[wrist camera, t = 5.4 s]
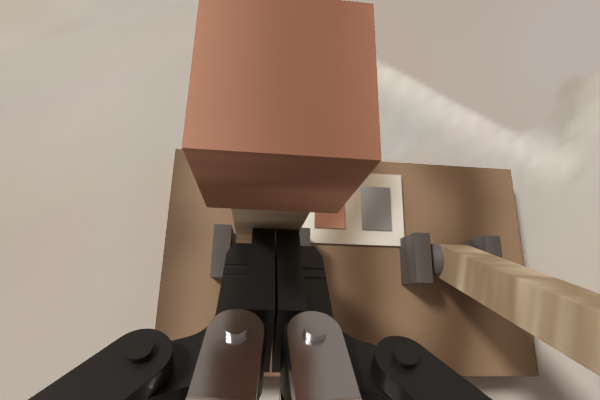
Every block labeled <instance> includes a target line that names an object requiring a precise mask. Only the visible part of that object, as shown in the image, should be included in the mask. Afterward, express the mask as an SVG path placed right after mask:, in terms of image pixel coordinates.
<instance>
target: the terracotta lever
mask: <svg viewBox="0 0 600 400" xmlns="http://www.w3.org/2000/svg"><path fill="white" fill-rule="evenodd" d="M374 28H375V27H374V8H373V4H370V3H360V2H351V1H342V0H199V5H198V14H197V22H196V31H195V39H194V48H193V56H192V65H191V74H190V82H189V91H188V99H187V108H186V117H185V125H184V134H183V142H182V149H183V152H184V154H185V156H186V159H187V161H188V164H189V166H190V168H191V171H192V173H193V175H194V178H195V180H196V183H197V185H198V187H199V190H200V192H201V194H202V197H203V199H204V202H205V204H206V206H207V207H208V208H230V209H231V210H232V215H233V220H234V225H235V230H236V235H237V238H236V243H251V241H252V230H253V228H261V229H275V239H276V230H277V229H284V230H299V231H300V229H301V228H302V226H303V224H304V222H305V220H306V219H307V217H308V215H309V213H310V212H316V213H338V212H339V211H340V210H341V209H342V207H343V206H344V205H345V204H346V202H347V201H348V200H349V199H350V198H351V196H352V195H353V194H354V193H355V192H356V190H357V189H358V188H359V187H360V185H361V184H362V183H363V182H364V181H365V179H366V178H367V177H368V176H369V175H370V173H371V172H372V171H373V170H374V168H375V167H376V166H377V165H378V164H379V162H380V161H381V146H380V126H379V106H378V86H377V66H376V46H375V29H374Z"/></svg>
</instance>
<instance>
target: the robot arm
mask: <svg viewBox="0 0 600 400" xmlns="http://www.w3.org/2000/svg"><path fill="white" fill-rule="evenodd" d="M271 350H272V372H280V393H279V400H492V399H490V398H489V397H488V396H487V395H485V394H484V393H483V392H481V391H480V390H479V389H477V388H476V387H475V386H474V385H472V384H471V383H470V382H468V381H467V380H466V379H464V378H463V377H462V376H461V375H459V374H458V373H457V372H455V371H454V370H453V369H451V368H450V367H449V366H448V365H446V364H445V363H444V362H442V361H441V360H440V359H438V358H437V357H436V356H435V355H433V354H432V353H431V352H429V351H428V350H427V349H425V348H424V347H423V346H422V345H420V344H419V343H417V342H416V341H414V340H412V339H409V338H407V337H403V336H388V337H386V338H384V339H382V340H381V341H380V342H379V343H378V344H377V345H373V344H370V343H367V342H363V341H360V340H357V339H355V338H353V337H351V336H349V335H347V334H346V333H345V332H343V331H342V330H341V327H340V326H339V324H338V323H337V322H336V321H335V320H334V317H333V313H332V307H331V302H330V296H329V290H328V285H327V280H326V274H325V270H324V262H323V257H322V255H321V254H320V253H319V252H318V250H317V249H316V248H315V246H301V245H300V235H299V230H284V229H277V230H276V239H275V229H261V228H253V230H252V241H251V243H234V244H233V246H232V247H231V248H230V249H229V250H228V251H227V253H226V259H225V265H224V270H223V276H222V281H221V287H220V292H219V298H218V303H217V309H216V314H215V317H214V318H213V319H212V320H211V321H210V323H209V324H208V326H207V327H206V328H205V329H203V330H202V331H200V332H198V333H196V334H194V335H191V336H188V337H184V338H180V339H176V340H172V341H171V340H170V339H169V337H168V336H167V335H166V334H164V333H163V332H161V331H158V330H154V329H140V330H136V331H132V332H130V333H127V334H125V335H124V336H122V337H120V338H119V339H117V340H116V341H114V342H113V343H111V344H110V345H108V346H107V347H106V348H104V349H103V350H101V351H100V352H98V353H97V354H95V355H94V356H92V357H91V358H89V359H88V360H86V361H85V362H83V363H82V364H80V365H79V366H77V367H76V368H74V369H73V370H71V371H70V372H68V373H67V374H65V375H64V376H63V377H61V378H60V379H58V380H57V381H55V382H54V383H52V384H51V385H49V386H48V387H46V388H45V389H43V390H42V391H40V392H39V393H37V394H36V395H34V396H33V397H31V398H30V399H28V400H259V398H260V396H261V393H262V387H263V375H264V372H269V371H270V361H271Z"/></svg>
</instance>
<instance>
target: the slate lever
mask: <svg viewBox="0 0 600 400" xmlns="http://www.w3.org/2000/svg"><path fill="white" fill-rule="evenodd" d="M431 257H432V271H433V276H437V277H439V278H440V279H442V280H444V281H445V282H447V283H448V284H450V285H452V286H453V287H455V288H457V289H458V290H460V291H462V292H463V293H465V294H466V295H468V296H470V297H471V298H473V299H475V300H476V301H478V302H480V303H481V304H483V305H484V306H486V307H488V308H489V309H491V310H493V311H494V312H496V313H497V314H499V315H501V316H502V317H504V318H506V319H507V320H509V321H511V322H512V323H514V324H515V325H517V326H519V327H520V328H522V329H524V330H525V331H527V332H529V333H530V334H532V335H533V336H535V337H537V338H538V339H540V340H542V341H543V342H545V343H547V344H548V345H550V346H551V347H553V348H555V349H556V350H558V351H560V352H561V353H563V354H565V355H566V356H568V357H569V358H571V359H573V360H574V361H576V362H578V363H579V364H581V365H583V366H584V367H586V368H587V369H589V370H591V371H592V372H594V373H596V374H597V375H599V376H600V294H598V293H595V292H592V291H590V290H587V289H584V288H582V287H579V286H576V285H574V284H571V283H568V282H566V281H563V280H560V279H557V278H555V277H552V276H549V275H547V274H544V273H541V272H539V271H536V270H533V269H530V268H528V267H525V266H522V265H520V264H517V263H514V262H512V261H509V260H506V259H503V258H501V257H498V256H495V255H493V254H490V253H487V252H485V251H482V250H480V249H479V248H478V247H477V246H475V245H452V244H431Z"/></svg>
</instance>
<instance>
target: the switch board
mask: <svg viewBox="0 0 600 400" xmlns="http://www.w3.org/2000/svg"><path fill="white" fill-rule="evenodd" d="M299 235H300V245H301V246H315V248H316V249H317V250H318V252H319V253H320V254H321V255H322V257H323V262H324V270H325V274H326V280H327V285H328V290H329V296H330V302H331V307H332V313H333V317H334V320H335V321H336V322H337V323H338V324H339V326H340V327H341V330H342V331H343V332H345V333H346V334H347V335H349V336H351V337H353V338H355V339H357V340H360V341H363V342H367V343H370V344H373V345H377V344H378V343H379V342H380V341H381V340H382V339H384V338H386V337H388V336H403V337H407V338H409V339H412V340H414V341H416V342H417V343H419V344H420V345H422V346H423V347H424V348H425V349H427V350H428V351H429V352H431V353H432V354H433V355H435V356H436V357H437V358H438V359H440V360H441V361H442V362H444V363H445V364H446V365H448V366H449V367H450V368H451V369H453V370H454V371H455V372H457V373H458V374H459V375H461V376H539V375H538V367H537V360H536V353H535V345H534V338H533V335H532V334H530V333H529V332H527V331H525V330H524V329H522V328H520V327H519V326H517V325H515V324H514V323H512V322H511V321H509V320H507V319H506V318H504V317H502V316H501V315H499V314H497V313H496V312H494V311H493V310H491V309H489V308H488V307H486V306H484V305H483V304H481V303H480V302H478V301H476V300H475V299H473V298H471V297H470V296H468V295H466V294H465V293H463V292H462V291H460V290H458V289H457V288H455V287H453V286H452V285H450V284H448V283H447V282H445V281H444V280H442V279H440V278H439V277H437V276H433V271H432V257H431V244H452V245H475V246H477V247H478V248H479V249H480V250H482V251H485V252H487V253H490V254H493V255H495V256H498V257H501V258H503V259H506V260H509V261H512V262H514V263H517V264H520V265H522V266H524V265H523V257H522V250H521V243H520V235H519V228H518V221H517V213H516V206H515V199H514V191H513V184H512V177H511V170H507V169H491V168H475V167H459V166H443V165H427V164H411V163H394V162H379V164H378V165H377V166H376V167H375V168H374V170H373V171H372V172H371V173H370V175H369V176H368V177H367V178H366V179H365V181H364V182H363V183H362V184H361V185H360V187H359V188H358V189H357V190H356V192H355V193H354V194H353V195H352V196H351V198H350V199H349V200H348V201H347V202H346V204H345V205H344V206H343V207H342V209H341V210H340V211H339V212H338V213H316V212H310V213H309V215H308V217H307V219H306V220H305V222H304V224H303V226H302V228H301V229H300V231H299ZM236 238H237V235H236V230H235V225H234V220H233V215H232V210H231V209H230V208H208V207H207V206H206V204H205V202H204V199H203V197H202V194H201V192H200V190H199V187H198V185H197V183H196V180H195V178H194V175H193V173H192V171H191V168H190V166H189V164H188V161H187V159H186V156H185V154H184V152H183V149H176V150H175V159H174V168H173V177H172V185H171V194H170V203H169V212H168V220H167V229H166V238H165V247H164V255H163V264H162V273H161V282H160V290H159V299H158V308H157V317H156V325H155V330H158V331H161V332H163V333H164V334H166V335H167V336H168V337H169V339H170V340H171V341H172V340H176V339H180V338H184V337H188V336H191V335H194V334H196V333H198V332H200V331H202V330H203V329H205V328H206V327H207V326H208V324H209V323H210V321H211V320H212V319H213V318H214V317H215V314H216V309H217V303H218V298H219V292H220V287H221V281H222V276H223V270H224V265H225V259H226V253H227V251H228V250H229V249H230V248H231V247H232V246H233V244H234V243H236ZM263 376H280V372H272V350H271V361H270V371H269V372H264V375H263Z"/></svg>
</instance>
